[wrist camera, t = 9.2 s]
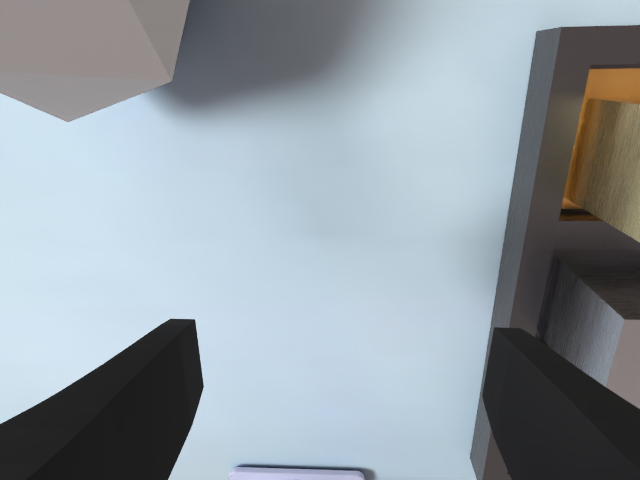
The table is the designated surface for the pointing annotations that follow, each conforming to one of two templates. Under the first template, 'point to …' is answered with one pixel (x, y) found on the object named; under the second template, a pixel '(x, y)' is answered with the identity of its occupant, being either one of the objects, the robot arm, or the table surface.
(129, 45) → the die
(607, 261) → the matte gray cube
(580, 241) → the rail
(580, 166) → the light wood cube
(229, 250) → the table surface
